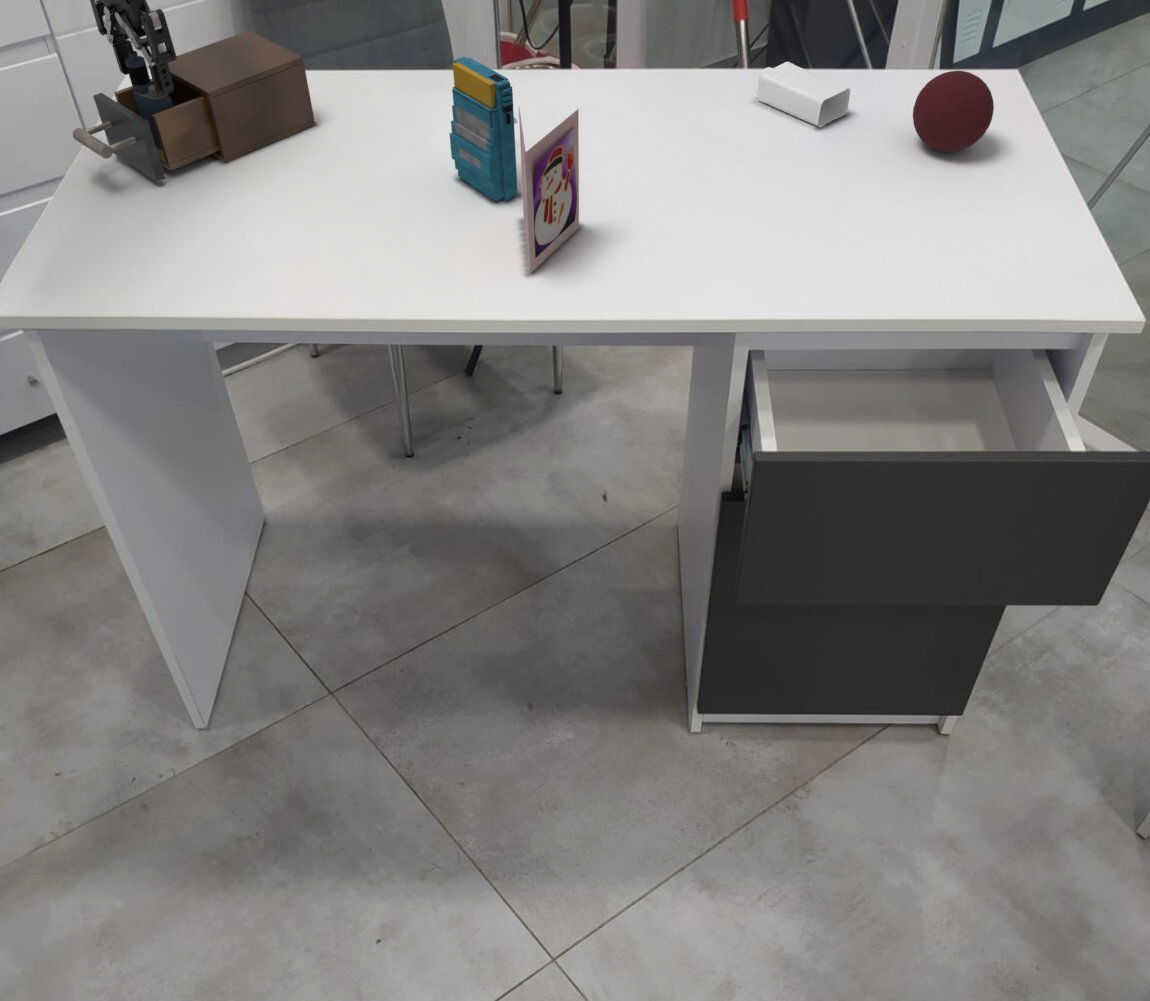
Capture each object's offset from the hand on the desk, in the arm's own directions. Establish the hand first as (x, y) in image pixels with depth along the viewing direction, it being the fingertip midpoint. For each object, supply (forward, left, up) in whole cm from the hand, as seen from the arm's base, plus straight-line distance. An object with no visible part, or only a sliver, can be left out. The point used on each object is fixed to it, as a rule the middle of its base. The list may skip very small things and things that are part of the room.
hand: (147, 82), depth 140 cm
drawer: (-1, 0, -10) cm, 10 cm away
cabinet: (+12, 0, -10) cm, 16 cm away
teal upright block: (+24, -36, -11) cm, 44 cm away
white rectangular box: (+69, -52, -11) cm, 87 cm away
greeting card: (+19, -50, -11) cm, 54 cm away
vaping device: (0, 0, -9) cm, 9 cm away
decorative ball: (+73, -73, -11) cm, 104 cm away
